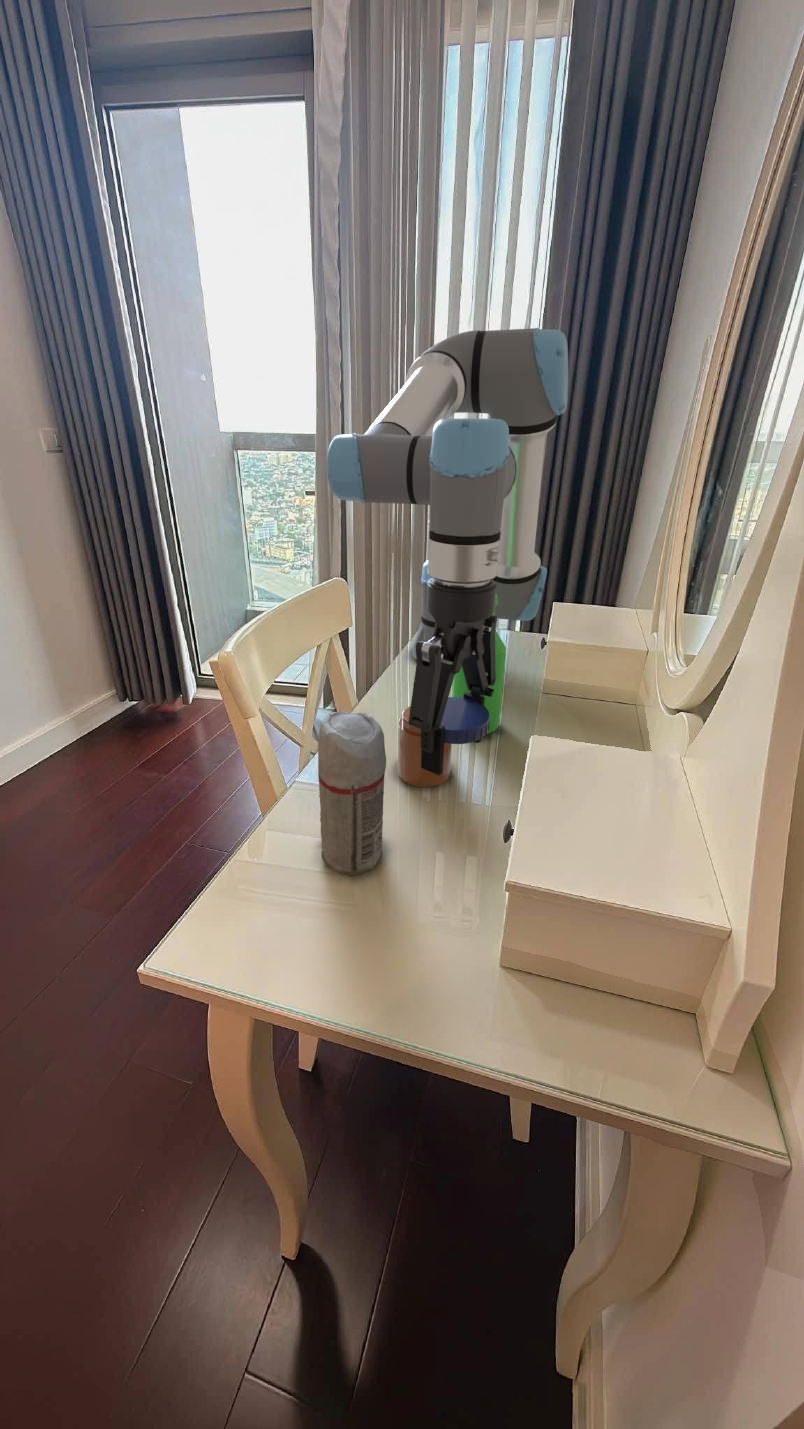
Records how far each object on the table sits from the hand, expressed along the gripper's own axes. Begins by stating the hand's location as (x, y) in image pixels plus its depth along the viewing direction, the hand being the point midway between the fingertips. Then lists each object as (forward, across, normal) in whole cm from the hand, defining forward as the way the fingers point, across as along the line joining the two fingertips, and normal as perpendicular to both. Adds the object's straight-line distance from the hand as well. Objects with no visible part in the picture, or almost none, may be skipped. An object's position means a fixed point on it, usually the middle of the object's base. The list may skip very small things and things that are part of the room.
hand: (452, 753), depth 72 cm
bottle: (+13, +28, +12) cm, 33 cm away
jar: (+13, +10, +11) cm, 20 cm away
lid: (-6, 0, 0) cm, 6 cm away
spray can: (+13, -11, +8) cm, 19 cm away
